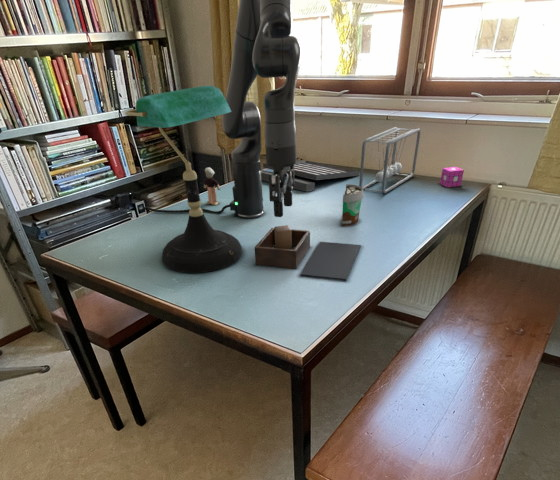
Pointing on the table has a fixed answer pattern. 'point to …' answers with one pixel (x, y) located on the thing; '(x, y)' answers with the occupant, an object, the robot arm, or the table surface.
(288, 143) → the robot arm
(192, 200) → the banker's lamp
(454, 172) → the puzzle toy
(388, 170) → the newton's cradle
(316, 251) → the mat
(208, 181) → the grandmother figurine
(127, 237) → the table surface
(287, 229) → the wooden block
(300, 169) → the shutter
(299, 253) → the crate
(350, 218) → the food container
